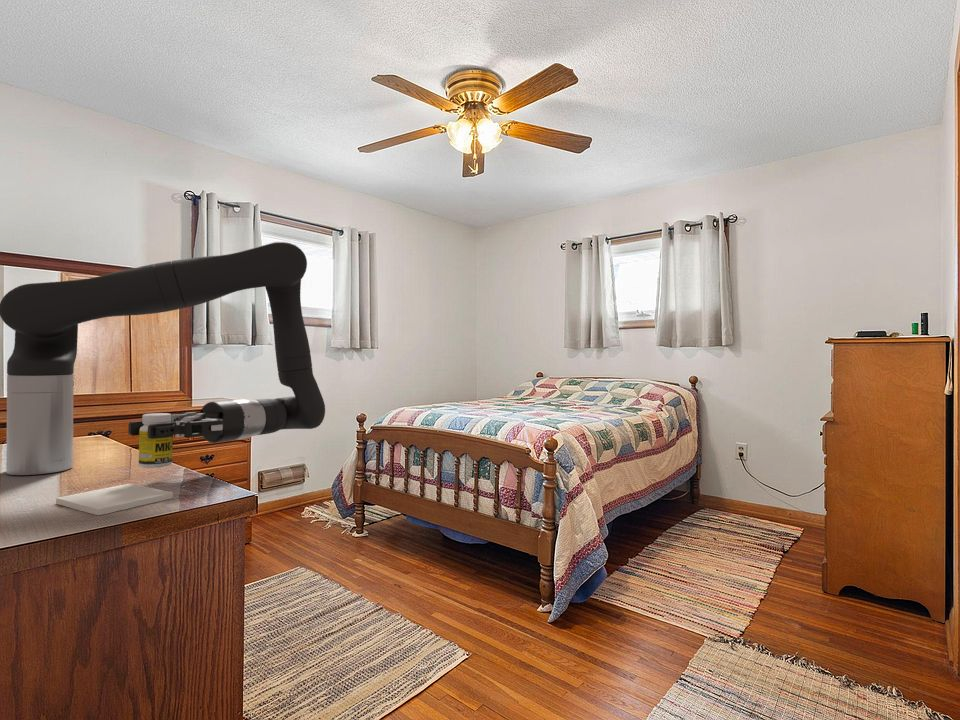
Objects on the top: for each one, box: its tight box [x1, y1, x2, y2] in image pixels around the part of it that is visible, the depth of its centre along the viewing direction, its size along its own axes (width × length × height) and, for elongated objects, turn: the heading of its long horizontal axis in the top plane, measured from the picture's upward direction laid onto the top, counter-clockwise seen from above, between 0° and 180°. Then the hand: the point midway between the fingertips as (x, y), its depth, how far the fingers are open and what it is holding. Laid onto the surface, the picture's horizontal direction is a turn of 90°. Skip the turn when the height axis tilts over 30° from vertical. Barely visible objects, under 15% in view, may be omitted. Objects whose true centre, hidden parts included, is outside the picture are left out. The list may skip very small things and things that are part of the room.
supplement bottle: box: [138, 412, 174, 469], centre depth 87 cm, size 5×5×8 cm
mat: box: [55, 482, 174, 516], centre depth 77 cm, size 11×10×1 cm
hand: (139, 430), depth 85 cm, fingers closed on supplement bottle, 4 cm apart
